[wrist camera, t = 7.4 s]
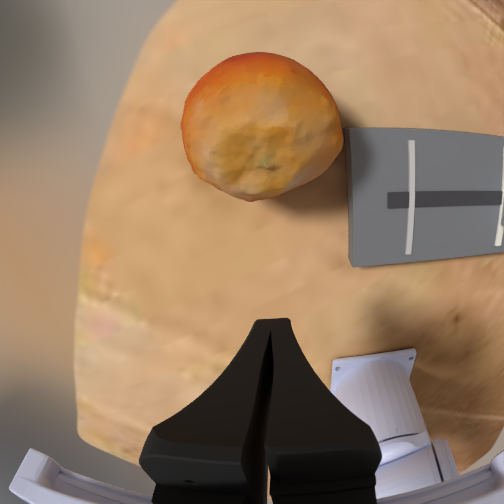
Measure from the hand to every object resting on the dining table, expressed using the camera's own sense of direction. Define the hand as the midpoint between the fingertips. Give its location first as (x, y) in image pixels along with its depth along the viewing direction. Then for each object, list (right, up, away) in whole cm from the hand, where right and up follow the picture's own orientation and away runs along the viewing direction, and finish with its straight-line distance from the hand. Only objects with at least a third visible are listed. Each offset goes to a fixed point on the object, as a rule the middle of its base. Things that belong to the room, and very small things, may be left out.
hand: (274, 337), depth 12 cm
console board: (+13, +8, +6) cm, 17 cm away
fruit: (0, +11, +6) cm, 13 cm away
